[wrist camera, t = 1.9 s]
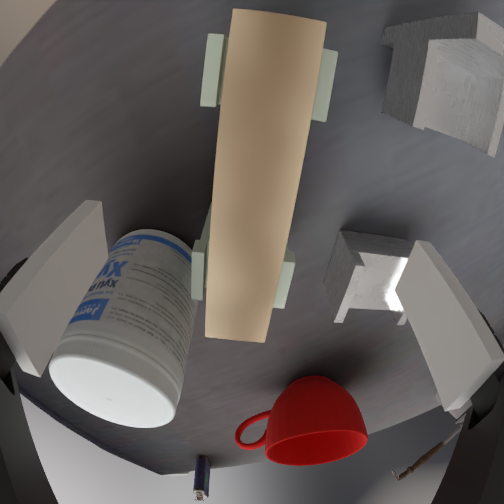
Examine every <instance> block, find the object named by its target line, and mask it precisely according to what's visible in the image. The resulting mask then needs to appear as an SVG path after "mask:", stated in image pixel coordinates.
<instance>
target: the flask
mask: <svg viewBox="0 0 504 504" xmlns="http://www.w3.org/2000/svg"><path fill="white" fill-rule="evenodd" d="M209 478H210V465H209V462H208V461H207V457H205V456H202V455H197V456H196V467H195V479H194V490H193V491H194V493H195V494H196V497H197V500H199V501H204V500H203V499H202V498H208V496H209V494H208V493H209ZM195 500H196V499H195ZM197 500H196V501H197Z"/></svg>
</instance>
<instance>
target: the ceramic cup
mask: <svg viewBox="0 0 504 504" xmlns="http://www.w3.org/2000/svg"><path fill="white" fill-rule="evenodd" d="M265 418H269V419H268V423H267V429H266V430H265V433H264V435H263V436H262V437H261V438H260V439H259V440H258V441H256V442H254V443H251V444H245V443H242V442H241V440H240V436H241V434H242V432H243V431H244V430H245V428H247V427H248V426H249V425H251V424H252V423H255V422H257V421H259V420H262V419H265ZM367 439H368V435H367V431H366V427H365V424H364V421H363V418H362V415H361V412H360V410H359V408H358V406H357V404H356V402H355V400H354V399H353V397H352V396H351V395H350V394H349V393H348V392H347V391H346V390H345V389H344V388H343V387H342V386H340V385H339V384H337V383H335V382H333V381H331V380H330V379H329V378H327V377H324V376H307V377H303V378H300V379H297V380H295V381H293V382H292V383H291V384H290V385H289V386H288V387H287V388H286V389H285V390H284V391H283V393H282V394H281V395H280V396H279V397H278V399H277V400H276V402H275V403H274V405H273V408H272V410H269V411H266V412H263V413H260V414H257V415H255V416H252V417H250V418H248V419H247V420H245V421H244V422H243V423H242V424H241V425H240V426H239V427H238V428H237V430H236V433H235V441H236V443H237V445H238V446H239V447H241V448H242V449H246V450H252V449H257V448H259V447H261V446H263V445H265V454H266V456H267V458H268V459H270V460H271V461H274V462H276V463H280V464H285V465H295V466H296V465H297V466H304V465H316V464H322V463H327V462H332V461H336V460H339V459H342V458H345V457H347V456H349V455H352V454H354V453H355V452H357V451H359V450H360V449H361V448H362V447H363V446H365V444H366V443H367Z"/></svg>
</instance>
